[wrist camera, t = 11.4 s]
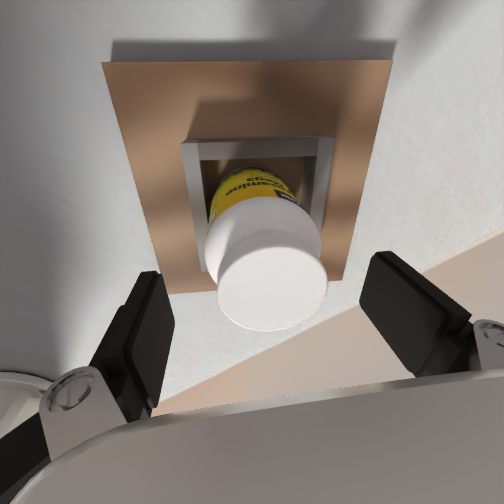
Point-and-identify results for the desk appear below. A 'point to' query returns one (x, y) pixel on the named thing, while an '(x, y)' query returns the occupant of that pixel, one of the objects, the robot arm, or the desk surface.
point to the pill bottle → (263, 252)
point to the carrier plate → (245, 145)
